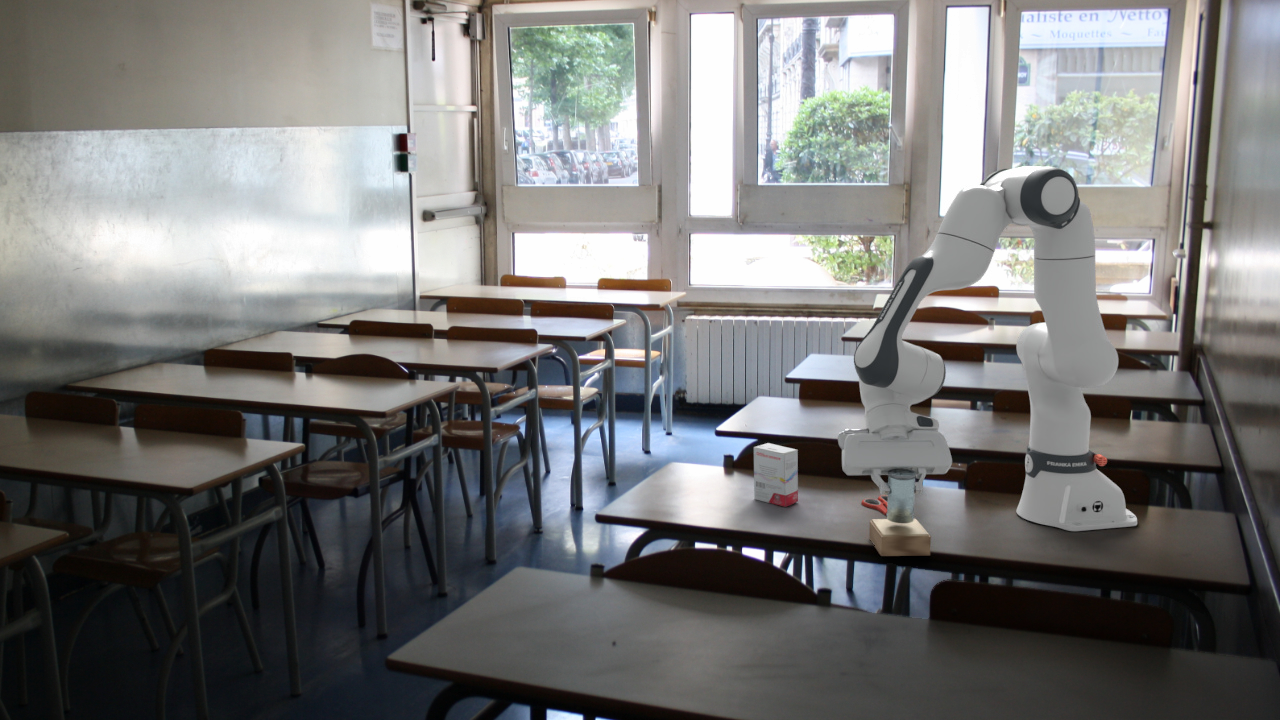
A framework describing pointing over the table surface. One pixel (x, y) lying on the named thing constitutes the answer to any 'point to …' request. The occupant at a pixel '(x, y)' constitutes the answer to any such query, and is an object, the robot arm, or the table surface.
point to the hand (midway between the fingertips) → (902, 493)
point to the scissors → (880, 503)
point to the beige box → (899, 538)
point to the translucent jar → (901, 495)
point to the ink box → (776, 474)
